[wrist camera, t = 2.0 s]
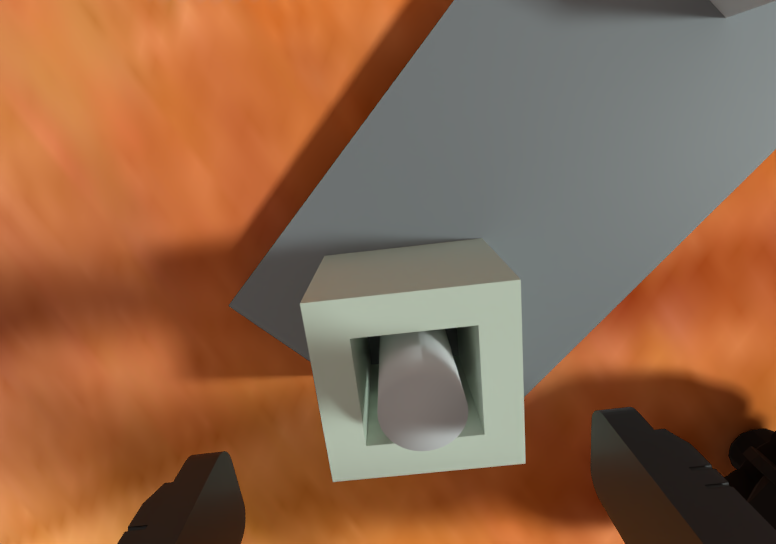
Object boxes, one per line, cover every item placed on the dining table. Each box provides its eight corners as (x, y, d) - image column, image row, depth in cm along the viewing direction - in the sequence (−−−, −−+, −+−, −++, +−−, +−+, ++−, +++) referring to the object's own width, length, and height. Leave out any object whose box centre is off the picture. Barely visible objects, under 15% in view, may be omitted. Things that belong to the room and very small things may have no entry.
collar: (482, 238, 17) (520, 279, 12) (489, 378, 18) (525, 463, 14) (324, 255, 17) (299, 303, 12) (346, 392, 19) (332, 482, 14)
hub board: (674, -294, 13) (1029, -822, 6) (899, -10, 16) (1360, -141, 8) (240, 292, 19) (146, 393, 11) (453, 440, 21) (488, 603, 14)
